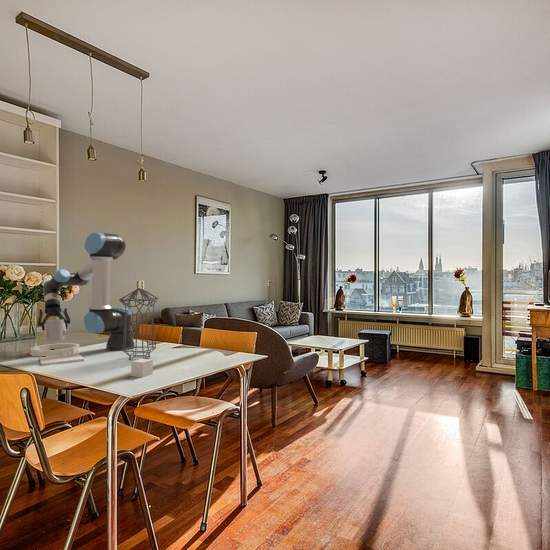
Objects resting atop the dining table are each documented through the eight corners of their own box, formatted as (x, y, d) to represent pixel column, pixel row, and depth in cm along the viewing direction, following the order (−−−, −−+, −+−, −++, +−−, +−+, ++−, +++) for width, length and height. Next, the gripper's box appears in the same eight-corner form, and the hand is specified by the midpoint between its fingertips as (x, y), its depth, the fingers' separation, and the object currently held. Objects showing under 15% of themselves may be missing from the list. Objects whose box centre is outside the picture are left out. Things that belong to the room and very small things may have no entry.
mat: (78, 355, 212) (78, 353, 212) (84, 360, 197) (84, 358, 197) (38, 359, 202) (38, 357, 202) (41, 365, 187) (41, 363, 187)
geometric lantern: (117, 361, 195) (117, 288, 195) (131, 355, 210) (130, 287, 211) (149, 362, 194) (149, 288, 194) (161, 355, 209) (160, 287, 209)
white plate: (86, 348, 233) (86, 343, 233) (64, 356, 209) (64, 350, 209) (46, 348, 233) (46, 343, 233) (20, 356, 210) (20, 350, 210)
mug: (67, 339, 221) (66, 319, 221) (50, 342, 214) (50, 321, 214) (56, 338, 228) (56, 318, 228) (40, 340, 221) (40, 320, 221)
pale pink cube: (131, 376, 166) (131, 361, 166) (141, 373, 172) (141, 358, 172) (142, 377, 164) (142, 362, 164) (152, 374, 169) (152, 359, 169)
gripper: (72, 306, 240) (76, 336, 227) (30, 308, 228) (32, 340, 215) (73, 297, 236) (78, 327, 222) (30, 299, 224) (32, 330, 210)
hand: (55, 333), depth 219 cm, fingers closed on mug, 8 cm apart
